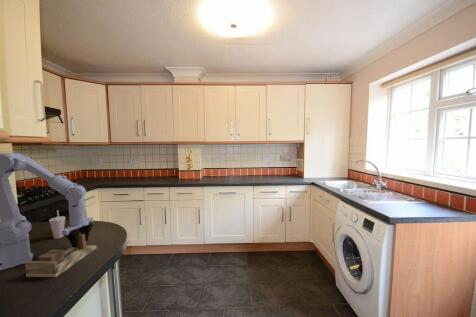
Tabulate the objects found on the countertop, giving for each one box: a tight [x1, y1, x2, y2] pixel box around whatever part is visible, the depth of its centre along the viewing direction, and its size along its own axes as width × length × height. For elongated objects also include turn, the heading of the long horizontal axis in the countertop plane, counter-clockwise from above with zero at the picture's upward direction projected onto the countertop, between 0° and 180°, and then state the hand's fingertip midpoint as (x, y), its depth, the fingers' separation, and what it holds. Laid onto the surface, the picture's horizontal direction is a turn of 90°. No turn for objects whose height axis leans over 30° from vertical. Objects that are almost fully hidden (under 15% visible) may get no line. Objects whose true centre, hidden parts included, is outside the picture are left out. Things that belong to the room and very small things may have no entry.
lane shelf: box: [24, 245, 98, 278], centre depth 83 cm, size 20×11×5 cm, turn 178°
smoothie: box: [48, 209, 66, 239], centre depth 105 cm, size 6×6×14 cm
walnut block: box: [37, 233, 87, 264], centre depth 83 cm, size 17×5×6 cm, turn 178°
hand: (80, 243), depth 91 cm, fingers open, 5 cm apart
